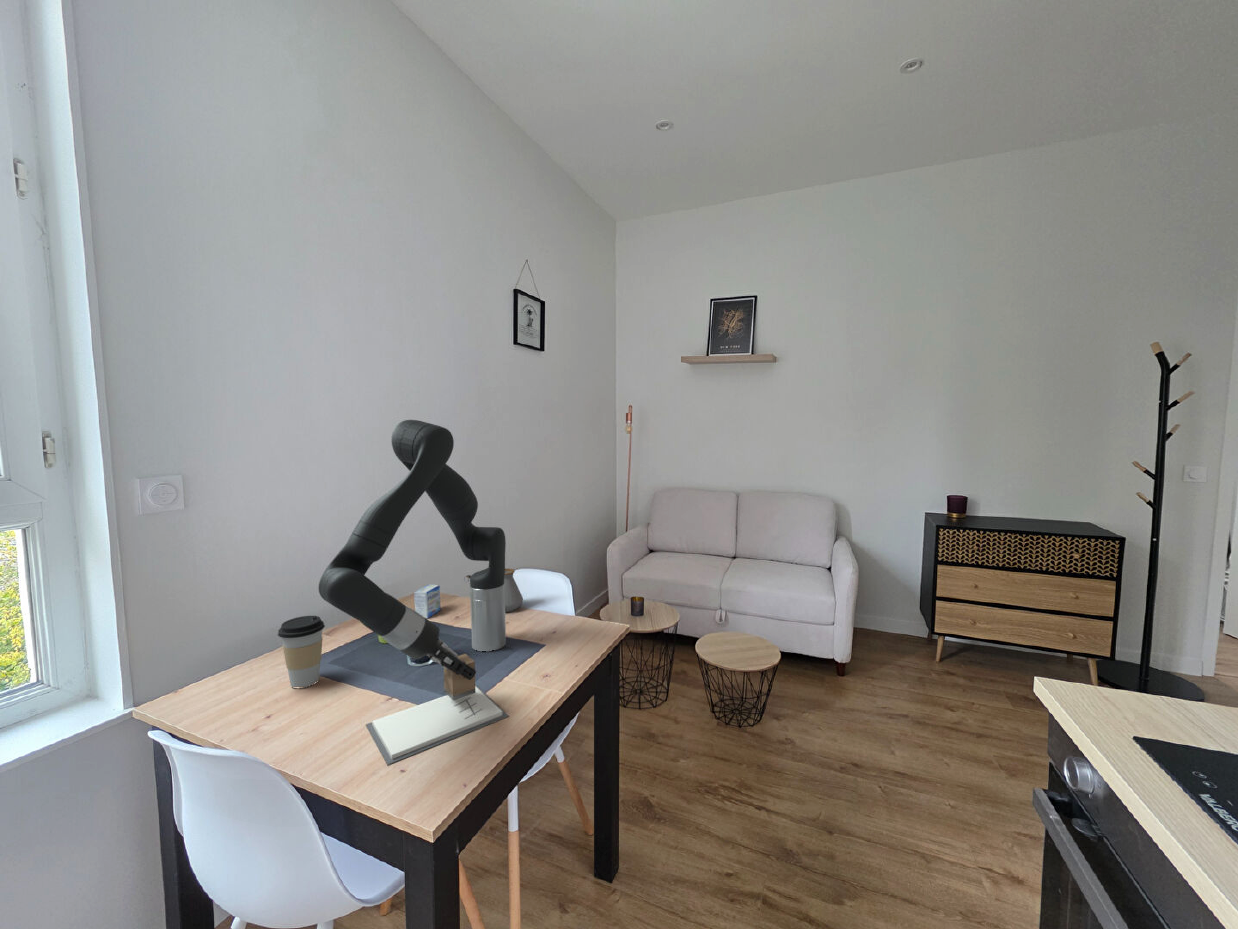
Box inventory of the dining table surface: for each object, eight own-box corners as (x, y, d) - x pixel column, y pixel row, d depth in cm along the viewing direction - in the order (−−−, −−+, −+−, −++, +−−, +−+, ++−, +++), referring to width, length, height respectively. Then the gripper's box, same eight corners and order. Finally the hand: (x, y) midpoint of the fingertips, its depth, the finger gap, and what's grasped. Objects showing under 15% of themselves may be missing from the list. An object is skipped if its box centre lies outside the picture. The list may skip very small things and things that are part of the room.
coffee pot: (507, 600, 177) (506, 558, 176) (530, 607, 170) (529, 563, 169) (455, 619, 160) (454, 572, 159) (478, 627, 153) (476, 579, 152)
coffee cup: (336, 677, 123) (333, 617, 122) (297, 696, 114) (293, 632, 113) (311, 670, 127) (307, 612, 126) (271, 687, 118) (268, 625, 117)
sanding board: (365, 725, 103) (365, 720, 103) (477, 686, 118) (477, 682, 118) (387, 765, 91) (387, 760, 91) (508, 716, 106) (508, 711, 106)
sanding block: (444, 691, 110) (443, 660, 110) (466, 684, 114) (465, 653, 113) (453, 700, 107) (452, 668, 106) (475, 692, 110) (474, 661, 109)
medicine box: (427, 619, 160) (426, 592, 160) (414, 618, 161) (413, 591, 161) (441, 610, 168) (440, 585, 167) (428, 609, 169) (428, 584, 168)
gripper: (434, 626, 99) (493, 667, 107) (411, 606, 110) (466, 645, 118) (407, 660, 96) (469, 700, 104) (386, 636, 107) (444, 674, 115)
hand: (467, 670), depth 111 cm, fingers closed on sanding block, 5 cm apart
